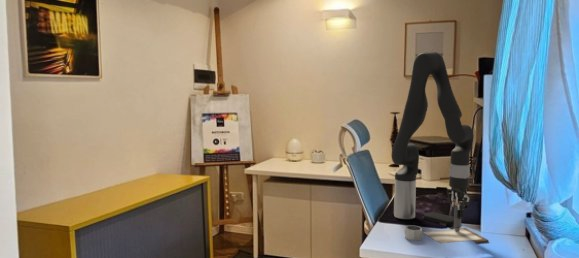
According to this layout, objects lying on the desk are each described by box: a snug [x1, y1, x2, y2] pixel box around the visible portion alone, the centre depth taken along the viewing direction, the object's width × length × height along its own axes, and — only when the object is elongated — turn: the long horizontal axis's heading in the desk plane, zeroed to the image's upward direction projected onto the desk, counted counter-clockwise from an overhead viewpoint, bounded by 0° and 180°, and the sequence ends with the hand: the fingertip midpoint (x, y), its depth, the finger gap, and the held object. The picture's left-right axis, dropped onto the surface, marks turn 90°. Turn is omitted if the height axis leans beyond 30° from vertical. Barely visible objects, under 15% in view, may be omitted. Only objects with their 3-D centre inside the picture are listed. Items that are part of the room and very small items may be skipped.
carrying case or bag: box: [421, 211, 455, 229], centre depth 200 cm, size 11×3×15 cm
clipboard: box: [422, 227, 489, 244], centre depth 181 cm, size 15×22×1 cm
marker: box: [453, 201, 462, 231], centre depth 185 cm, size 3×3×12 cm
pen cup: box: [404, 224, 423, 242], centre depth 178 cm, size 6×6×5 cm
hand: (457, 217), depth 185 cm, fingers closed on marker, 2 cm apart
